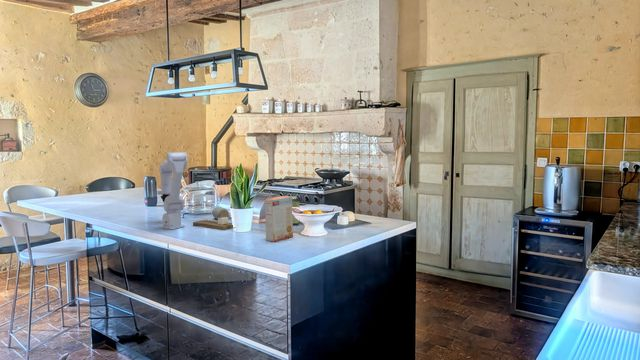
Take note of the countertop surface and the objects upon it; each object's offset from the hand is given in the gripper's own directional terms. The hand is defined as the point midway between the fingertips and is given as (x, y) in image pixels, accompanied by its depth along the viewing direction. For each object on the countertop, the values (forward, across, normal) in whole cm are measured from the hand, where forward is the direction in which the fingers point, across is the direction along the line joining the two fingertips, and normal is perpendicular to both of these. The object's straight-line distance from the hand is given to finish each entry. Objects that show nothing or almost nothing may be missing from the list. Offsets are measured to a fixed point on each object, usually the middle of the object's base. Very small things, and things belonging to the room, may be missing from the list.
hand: (167, 207), depth 267 cm
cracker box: (+10, -80, -3) cm, 81 cm away
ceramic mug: (+10, -18, -27) cm, 34 cm away
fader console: (+9, -30, -8) cm, 32 cm away
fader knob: (+7, -37, -8) cm, 38 cm away
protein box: (+10, -60, -35) cm, 70 cm away
